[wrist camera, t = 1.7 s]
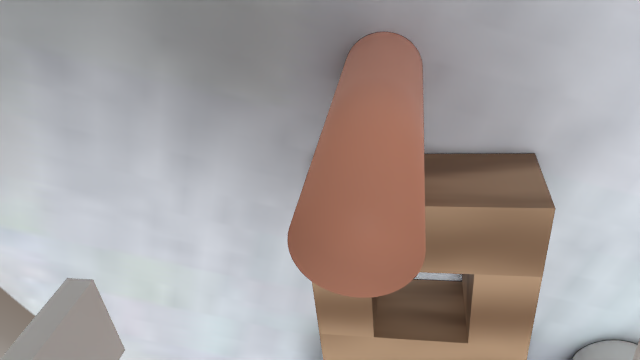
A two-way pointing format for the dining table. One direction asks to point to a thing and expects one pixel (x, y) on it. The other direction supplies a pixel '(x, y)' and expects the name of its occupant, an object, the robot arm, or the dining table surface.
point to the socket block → (457, 270)
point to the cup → (607, 351)
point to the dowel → (367, 177)
